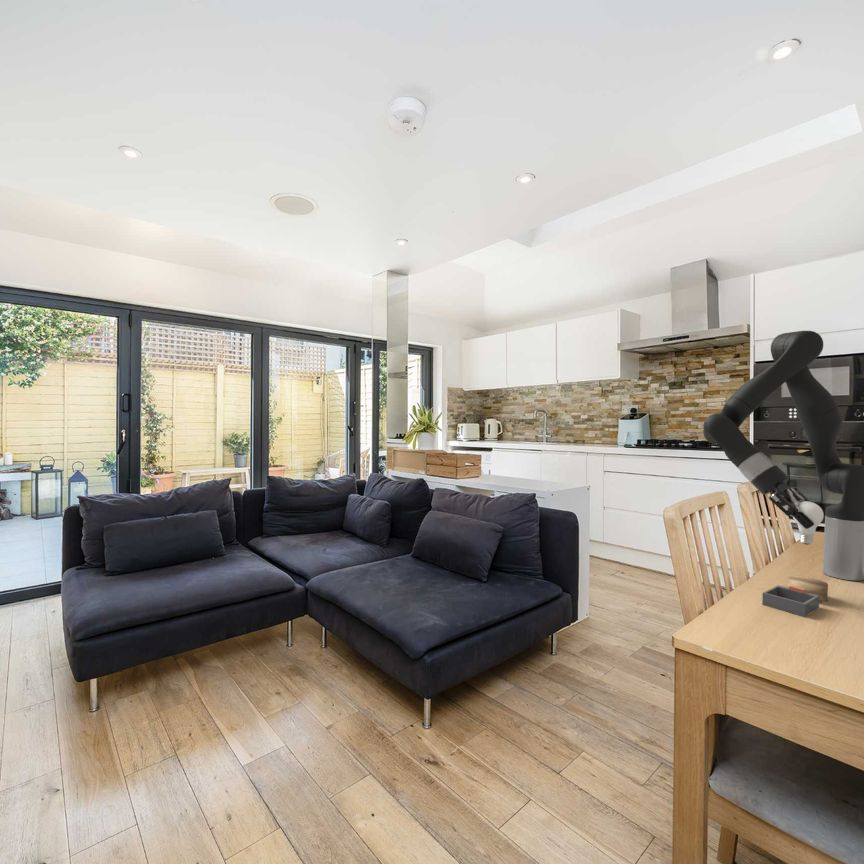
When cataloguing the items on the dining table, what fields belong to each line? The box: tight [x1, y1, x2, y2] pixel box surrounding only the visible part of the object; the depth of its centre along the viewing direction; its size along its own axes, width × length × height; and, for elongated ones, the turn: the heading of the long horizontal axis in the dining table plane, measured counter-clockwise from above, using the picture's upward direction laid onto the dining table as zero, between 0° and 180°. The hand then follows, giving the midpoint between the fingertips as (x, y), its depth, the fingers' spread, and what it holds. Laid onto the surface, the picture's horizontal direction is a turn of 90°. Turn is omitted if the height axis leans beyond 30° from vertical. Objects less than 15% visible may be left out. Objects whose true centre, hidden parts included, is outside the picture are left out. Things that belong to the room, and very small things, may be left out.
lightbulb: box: [792, 500, 825, 546], centre depth 120 cm, size 6×6×11 cm
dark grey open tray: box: [761, 584, 820, 618], centre depth 116 cm, size 10×9×4 cm
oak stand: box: [788, 575, 829, 604], centre depth 123 cm, size 8×8×4 cm
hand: (815, 524), depth 119 cm, fingers closed on lightbulb, 6 cm apart
